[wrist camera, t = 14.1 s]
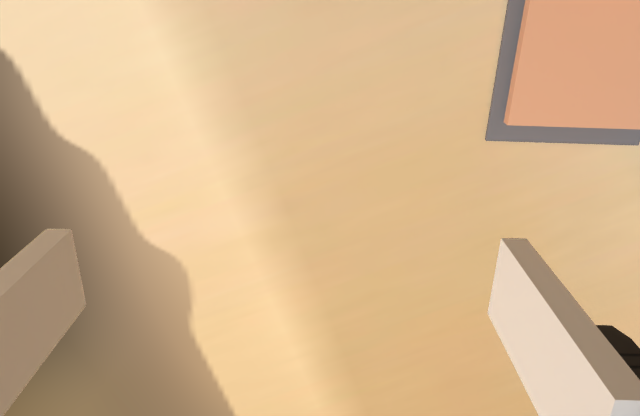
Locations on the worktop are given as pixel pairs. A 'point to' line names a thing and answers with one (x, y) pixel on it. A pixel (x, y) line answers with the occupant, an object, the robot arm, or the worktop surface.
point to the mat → (537, 133)
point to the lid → (577, 65)
